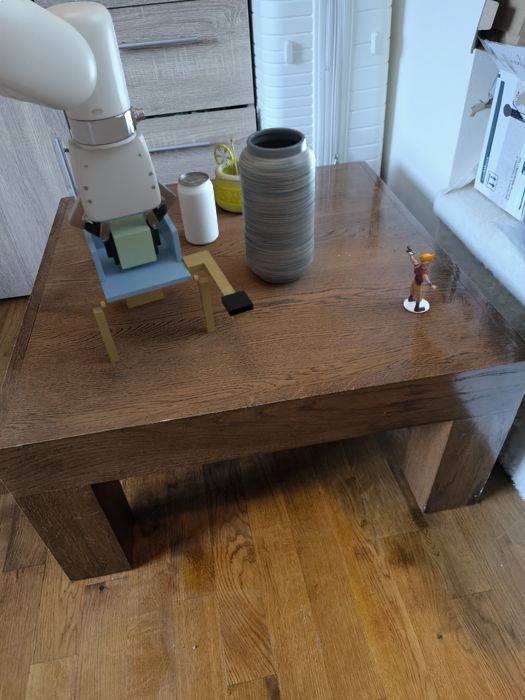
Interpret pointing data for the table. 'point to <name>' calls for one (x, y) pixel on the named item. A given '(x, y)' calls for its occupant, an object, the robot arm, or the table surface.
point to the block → (133, 241)
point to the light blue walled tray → (163, 271)
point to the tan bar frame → (148, 298)
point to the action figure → (418, 283)
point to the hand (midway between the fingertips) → (135, 253)
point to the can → (198, 208)
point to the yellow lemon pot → (228, 181)
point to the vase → (278, 203)
